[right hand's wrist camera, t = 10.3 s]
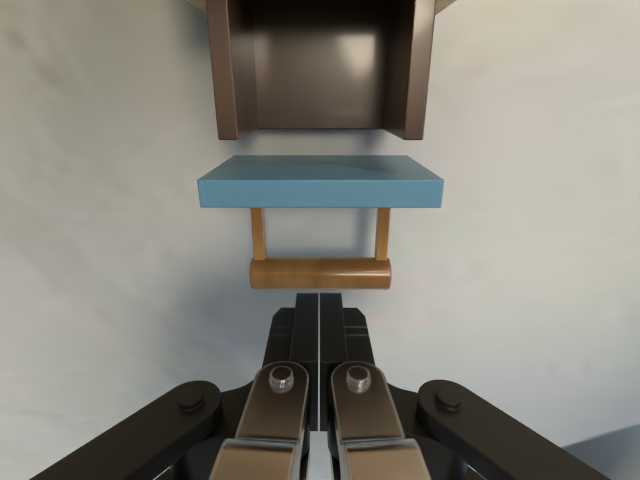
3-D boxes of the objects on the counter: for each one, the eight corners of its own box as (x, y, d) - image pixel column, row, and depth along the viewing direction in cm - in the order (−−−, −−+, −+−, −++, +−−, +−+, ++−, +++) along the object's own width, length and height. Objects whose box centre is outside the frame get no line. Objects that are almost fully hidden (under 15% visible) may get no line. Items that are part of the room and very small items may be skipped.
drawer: (398, 262, 24) (427, 323, 18) (242, 262, 24) (213, 323, 18) (433, -158, 17) (505, -318, 10) (207, -158, 17) (138, -318, 10)
